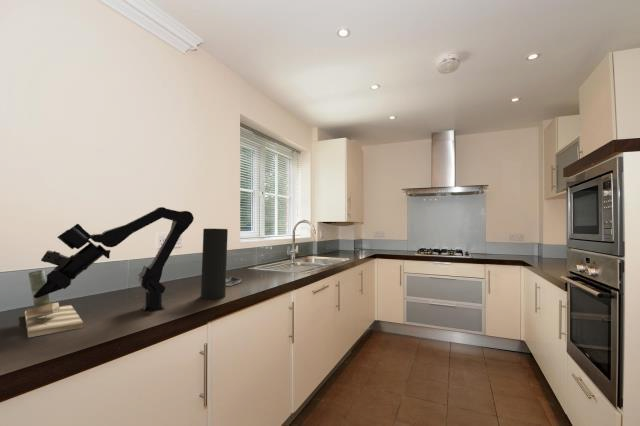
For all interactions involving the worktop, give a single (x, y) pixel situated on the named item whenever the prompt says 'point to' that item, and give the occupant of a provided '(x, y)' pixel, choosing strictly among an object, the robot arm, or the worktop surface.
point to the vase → (214, 263)
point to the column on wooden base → (42, 302)
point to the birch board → (54, 322)
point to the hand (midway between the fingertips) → (36, 295)
